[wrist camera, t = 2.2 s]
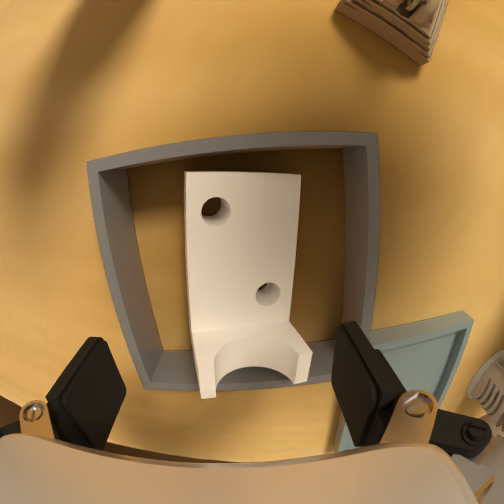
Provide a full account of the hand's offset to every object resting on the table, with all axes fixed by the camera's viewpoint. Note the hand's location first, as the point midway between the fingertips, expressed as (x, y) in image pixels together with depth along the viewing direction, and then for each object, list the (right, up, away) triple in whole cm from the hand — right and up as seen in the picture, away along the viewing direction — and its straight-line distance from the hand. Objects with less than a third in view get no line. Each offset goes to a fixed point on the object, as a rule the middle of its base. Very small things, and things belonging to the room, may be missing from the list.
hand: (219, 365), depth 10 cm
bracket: (+1, +4, +11) cm, 12 cm away
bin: (0, +4, +11) cm, 12 cm away
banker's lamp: (+16, +31, +3) cm, 35 cm away
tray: (+18, -11, +16) cm, 26 cm away
